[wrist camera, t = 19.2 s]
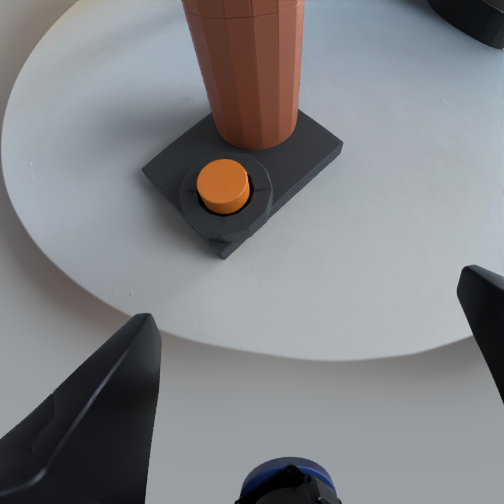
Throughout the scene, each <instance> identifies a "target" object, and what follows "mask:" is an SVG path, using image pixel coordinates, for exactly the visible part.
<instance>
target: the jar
mask: <svg viewBox="0 0 504 504" xmlns="http://www.w3.org/2000/svg"><path fill="white" fill-rule="evenodd" d="M182 3H183V7H184V11H185V15H186V18H187V22H188V26H189V30H190V33H191V37H192V41H193V44H194V48H195V52H196V55H197V59H198V63H199V66H200V70H201V74H202V77H203V81H204V85H205V89H206V92H207V96H208V100H209V103H210V107H211V111H212V114H213V118H214V121H215V124H216V127H217V130H218V132H219V134H220V136H221V137H222V138H223V139H224V140H225V141H226V142H228V143H229V144H231V145H233V146H235V147H237V148H241V149H245V150H264V149H268V148H272V147H274V146H277V145H279V144H281V143H282V142H284V141H285V140H286V139H287V138H288V137H289V136H290V135H291V134H292V132H293V131H294V128H295V125H296V121H297V112H298V99H299V85H300V71H301V55H302V38H303V19H304V0H182Z"/></svg>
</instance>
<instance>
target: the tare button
mask: <svg viewBox="0 0 504 504" xmlns="http://www.w3.org/2000/svg"><path fill="white" fill-rule="evenodd" d="M197 189H198V192H199V194H200V196H201V198H202V200H203V202H204V204H205V205H206V206H207V208H209V209H210V210H211V211H213V212H215V213H219V214H229V213H233V212H235V211H237V210H239V209H240V208H241V207H242V206H243V205H244V204H245V203H246V201H247V200H248V197H249V184H248V178H247V173H246V171H245V169H244V168H243V167H242V166H241V165H240V164H239V163H237V162H236V161H233V160H229V159H219V160H215V161H213V162H211V163H209V164H207V165H206V166H205V167H204V168H203V169H202V170H201V172H200V173H199V175H198V178H197Z"/></svg>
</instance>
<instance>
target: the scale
mask: <svg viewBox="0 0 504 504" xmlns="http://www.w3.org/2000/svg"><path fill="white" fill-rule="evenodd" d="M342 146H343V142H342V141H341V140H340V139H338V138H337V137H336V136H334V135H333V134H332V133H331V132H329V131H328V130H327V129H325V128H324V127H323V126H321V125H320V124H318V123H317V122H316V121H314V120H313V119H312V118H310V117H309V116H307V115H306V114H304V113H303V112H302V111H300V110H299V109H298V112H297V121H296V125H295V128H294V131H293V132H292V134H291V135H290V136H289V137H288V138H287V139H286V140H285V141H284V142H282V143H281V144H279V145H277V146H274V147H272V148H268V149H264V150H245V149H241V148H237V147H235V146H233V145H231V144H229V143H228V142H226V141H225V140H224V139H223V138H222V137H221V136H220V134H219V132H218V130H217V127H216V124H215V121H214V118H213V114H212V113H210V114H209V115H208V116H206V117H205V118H204V119H202V120H201V121H200V122H198V123H197V124H196V125H194V126H193V127H192V128H191V129H189V130H188V131H187V132H185V133H184V134H183V135H182V136H180V137H179V138H178V139H177V140H175V141H174V142H173V143H172V144H170V145H169V146H168V147H167V148H165V149H164V150H163V151H162V152H161V153H159V154H158V155H157V156H156V157H155V158H153V159H152V160H151V161H150V162H149V163H148V164H147V165H145V166H144V167H143V168H142V169H141V170H142V171H143V173H144V174H145V175H146V177H147V178H148V179H149V180H150V181H151V183H152V184H153V185H154V186H155V187H156V188H157V189H158V190H159V191H160V192H161V193H162V195H163V196H164V197H165V198H166V199H167V200H168V201H169V202H170V203H171V204H172V205H173V206H174V207H175V209H176V210H177V211H178V212H179V213H180V214H181V215H182V216H183V217H184V218H185V219H186V220H187V221H188V222H189V223H190V225H191V226H192V227H193V228H194V229H195V230H196V231H197V232H198V233H199V234H200V235H201V236H202V237H203V238H204V239H205V240H206V241H207V242H208V244H209V245H210V246H211V247H212V248H213V249H214V250H215V251H216V252H217V253H218V254H219V255H220V256H221V257H222V258H223V259H226V258H227V257H228V256H229V255H230V254H231V253H232V252H233V251H235V250H236V249H237V248H238V247H239V246H240V245H241V244H242V243H243V242H244V241H245V240H246V239H248V238H249V237H251V236H252V235H253V234H254V233H255V232H256V231H257V230H258V229H260V228H261V227H262V226H263V225H264V224H265V223H266V222H267V220H268V219H269V218H270V217H271V216H272V215H273V214H275V213H276V212H277V211H278V210H279V209H280V208H281V207H282V206H283V205H284V204H285V203H287V202H288V201H289V200H290V199H291V198H292V197H293V196H294V195H295V194H296V193H297V192H299V191H300V190H301V189H302V188H303V187H304V186H305V185H306V184H307V183H308V182H310V181H311V180H312V179H313V178H314V177H315V176H316V175H317V174H318V173H319V172H321V171H322V170H323V169H324V168H325V167H326V166H327V165H328V164H329V163H330V162H332V161H333V160H334V159H335V158H336V157H337V156H338V155H339V154H340V152H341V149H342ZM219 159H229V160H233V161H236V162H237V163H239V164H240V165H241V166H242V167H243V168H244V169H245V171H246V173H247V178H248V184H249V197H248V200H247V201H246V203H245V204H244V205H243V206H242V207H241V208H240V209H239V210H237V211H235V212H233V213H229V214H219V213H215V212H213V211H211V210H210V209H209V208H207V206H206V205H205V204H204V202H203V200H202V198H201V196H200V194H199V192H198V189H197V178H198V175H199V173H200V172H201V170H202V169H203V168H204V167H205V166H206V165H207V164H209V163H211V162H213V161H215V160H219Z"/></svg>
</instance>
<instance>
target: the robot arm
mask: <svg viewBox="0 0 504 504" xmlns="http://www.w3.org/2000/svg"><path fill="white" fill-rule="evenodd" d="M457 297H458V299H459V301H460V304H461V306H462V308H463V311H464V313H465V315H466V318H467V320H468V323H469V325H470V328H471V330H472V333H473V335H474V337H475V339H476V341H477V344H478V346H479V348H480V350H481V352H482V354H483V356H484V359H485V361H486V363H487V365H488V367H489V369H490V372H491V374H492V377H493V379H494V381H495V384H496V386H497V388H498V391H499V393H500V396H501V399H502V401H503V404H504V277H503V276H500V275H498V274H496V273H493V272H491V271H489V270H486V269H484V268H482V267H479V266H477V265H469V266H465V267H464V268H463V269H462V271H461V275H460V279H459V283H458V286H457ZM161 341H162V340H161V335H160V333H159V330H158V328H157V326H156V323H155V321H154V318H153V316H152V315H151V314H150V313H141V314H136V315H134V316H133V317H132V318H131V319H130V320H129V321H128V322H127V323H126V324H125V325H123V326H122V327H121V328H120V329H119V330H118V331H117V332H116V333H115V334H114V335H113V336H112V337H110V338H109V339H108V340H107V341H106V342H105V343H104V344H103V345H102V346H101V347H100V348H99V349H98V350H97V351H96V352H94V353H93V354H92V355H91V356H90V357H89V358H88V359H87V360H86V361H85V362H84V363H83V364H82V365H81V366H79V367H78V368H77V369H76V370H75V371H74V372H73V373H72V374H71V375H70V376H69V377H68V378H67V379H66V380H65V381H64V382H63V383H62V384H61V385H60V386H59V387H58V388H56V389H55V391H54V392H53V394H50V395H49V396H48V397H47V398H46V399H45V400H44V401H43V402H42V403H41V404H40V405H39V406H38V407H37V408H36V409H35V410H34V411H33V412H32V413H30V414H29V415H28V416H27V417H26V418H25V419H23V420H22V421H21V422H20V423H19V424H18V425H16V426H15V427H14V428H13V429H12V430H11V431H9V432H8V433H7V434H6V435H5V436H3V437H2V438H1V439H0V504H145V495H146V485H147V475H148V466H149V458H150V450H151V442H152V434H153V427H154V420H155V414H156V407H157V401H158V393H159V381H160V361H161V344H162V342H161ZM289 468H294V470H292V471H289V470H288V469H289ZM234 504H342V502H341V500H340V499H339V498H338V497H336V494H335V492H334V490H333V489H332V488H331V487H329V486H328V485H327V484H325V483H324V482H323V481H322V480H320V479H319V478H318V477H317V476H315V475H310V476H309V475H308V474H307V473H305V472H304V471H303V470H302V469H301V468H299V467H298V466H297V465H296V464H294V463H289V464H287V465H286V466H284V467H283V468H282V469H280V470H279V471H278V472H276V473H275V474H274V475H272V476H271V477H270V478H268V479H267V480H266V481H264V482H263V483H261V484H260V485H258V486H257V487H256V488H254V489H253V490H251V491H250V492H248V493H247V494H245V495H244V496H242V497H241V498H239V499H238V500H236V501H235V503H234Z"/></svg>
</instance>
